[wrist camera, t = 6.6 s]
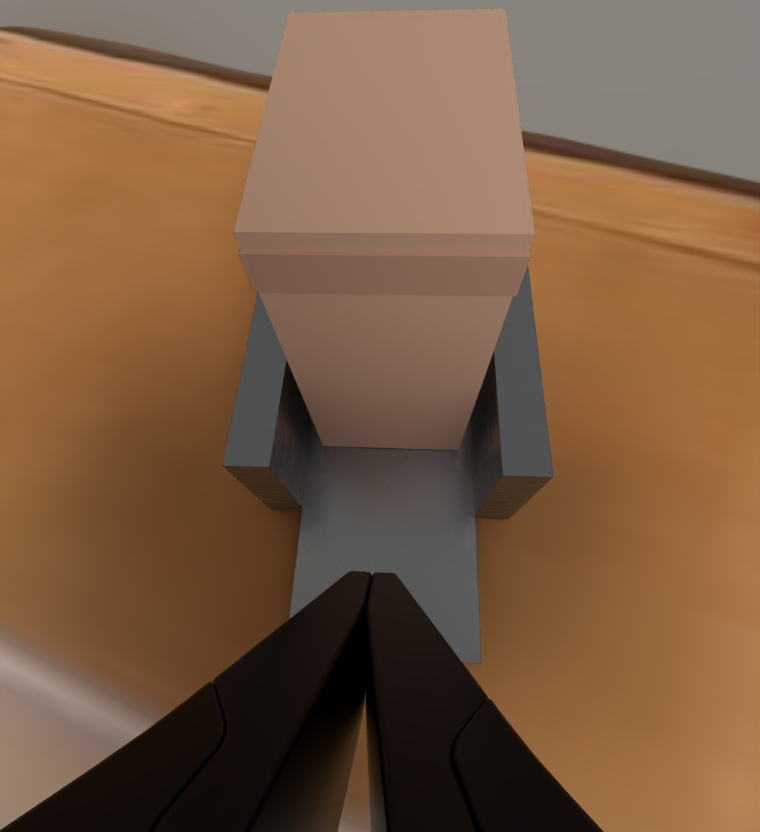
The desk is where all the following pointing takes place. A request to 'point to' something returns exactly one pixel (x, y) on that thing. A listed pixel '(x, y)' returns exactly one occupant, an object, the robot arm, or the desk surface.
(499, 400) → the chute
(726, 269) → the desk surface
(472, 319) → the block
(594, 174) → the desk surface
